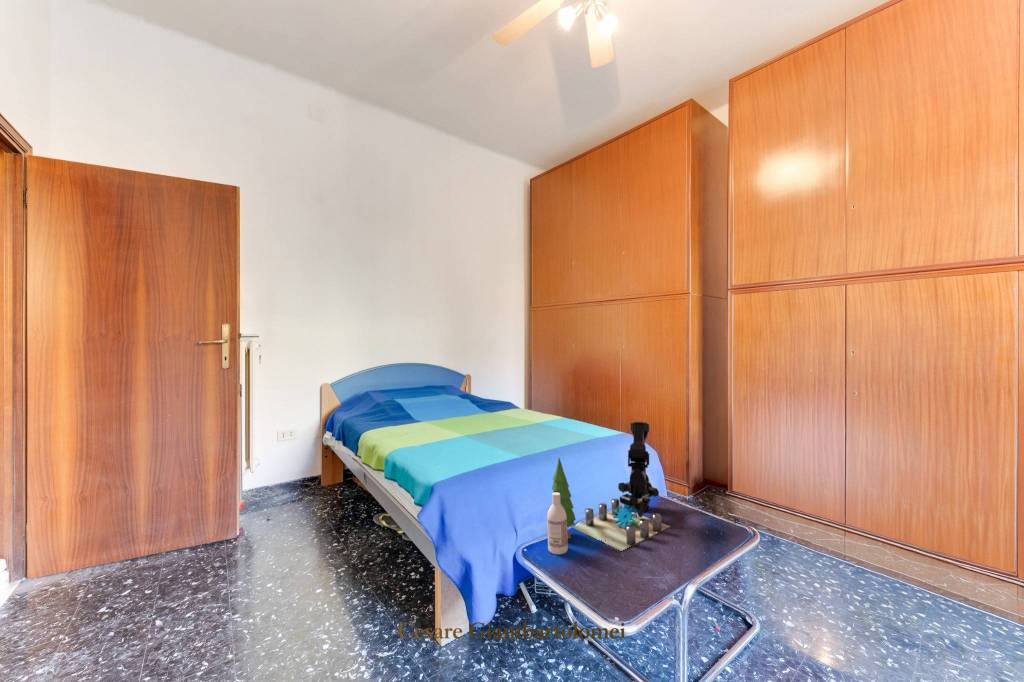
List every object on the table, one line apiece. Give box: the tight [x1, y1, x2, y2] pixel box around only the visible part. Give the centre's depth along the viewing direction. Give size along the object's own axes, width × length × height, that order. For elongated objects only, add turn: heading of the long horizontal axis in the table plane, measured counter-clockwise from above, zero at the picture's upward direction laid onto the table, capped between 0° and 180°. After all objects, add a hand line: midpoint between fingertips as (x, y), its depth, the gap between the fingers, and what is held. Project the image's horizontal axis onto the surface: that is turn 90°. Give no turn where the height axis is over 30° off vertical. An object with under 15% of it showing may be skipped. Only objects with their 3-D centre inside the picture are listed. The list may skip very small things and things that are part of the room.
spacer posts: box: [584, 498, 663, 547], centre depth 155 cm, size 19×23×6 cm
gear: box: [613, 504, 639, 529], centre depth 158 cm, size 11×6×10 cm
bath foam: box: [546, 491, 569, 555], centre depth 141 cm, size 7×7×20 cm
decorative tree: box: [551, 457, 577, 540], centre depth 151 cm, size 10×9×30 cm
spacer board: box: [571, 508, 671, 552], centre depth 156 cm, size 30×24×1 cm
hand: (640, 516), depth 162 cm, fingers closed
